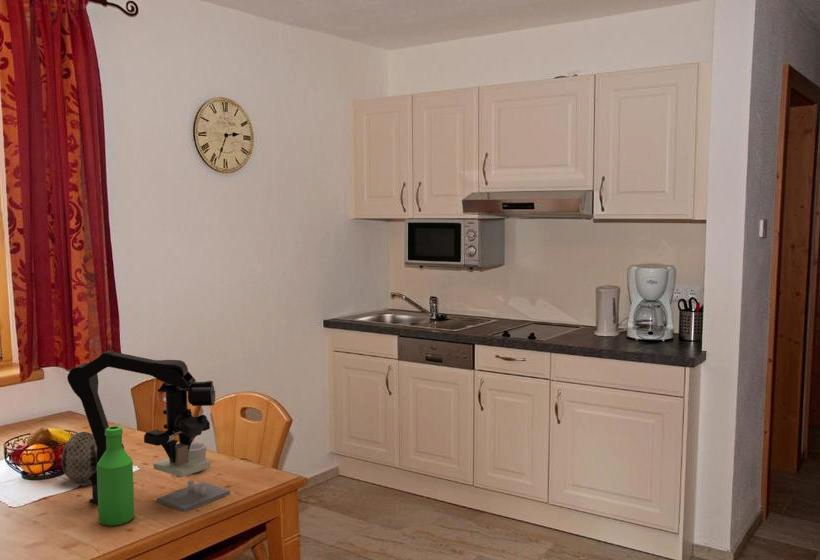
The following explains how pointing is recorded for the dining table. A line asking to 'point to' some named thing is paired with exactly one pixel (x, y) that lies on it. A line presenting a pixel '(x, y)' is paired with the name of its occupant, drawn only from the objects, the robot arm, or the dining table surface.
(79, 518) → the dining table surface
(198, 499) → the slate board
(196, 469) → the two-prong bracket
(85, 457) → the decorative egg
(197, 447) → the cup
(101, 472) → the bottle
